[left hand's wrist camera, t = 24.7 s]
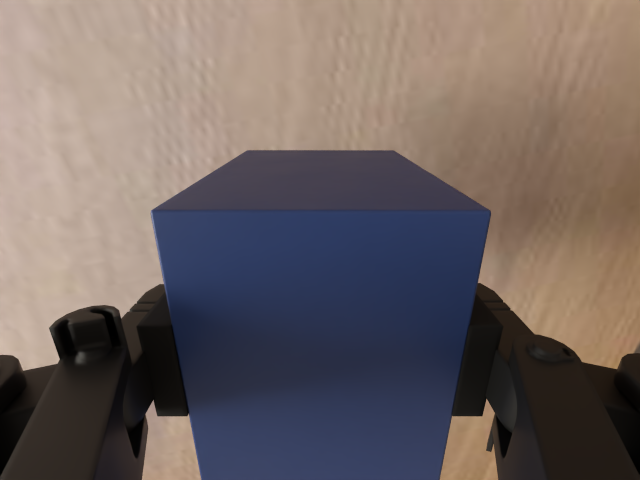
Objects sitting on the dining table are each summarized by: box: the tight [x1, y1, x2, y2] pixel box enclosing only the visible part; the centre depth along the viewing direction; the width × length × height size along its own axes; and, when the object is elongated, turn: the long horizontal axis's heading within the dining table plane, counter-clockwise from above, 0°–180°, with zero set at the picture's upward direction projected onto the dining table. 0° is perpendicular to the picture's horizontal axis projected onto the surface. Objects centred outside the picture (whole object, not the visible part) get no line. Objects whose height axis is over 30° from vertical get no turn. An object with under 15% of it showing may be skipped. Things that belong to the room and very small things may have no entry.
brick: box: [151, 150, 491, 480], centre depth 12 cm, size 8×7×9 cm
